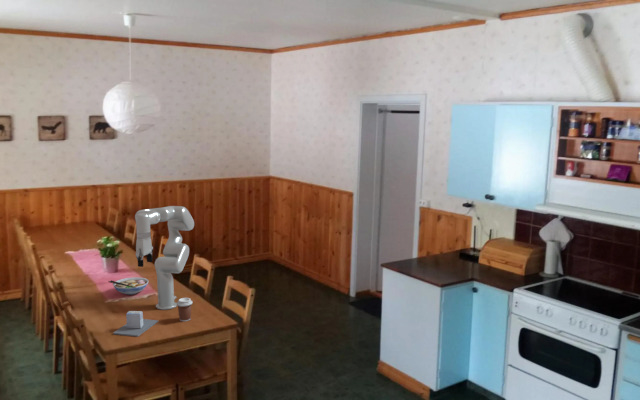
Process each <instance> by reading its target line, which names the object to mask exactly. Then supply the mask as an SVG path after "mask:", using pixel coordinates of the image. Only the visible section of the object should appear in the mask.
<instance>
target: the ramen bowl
mask: <svg viewBox="0 0 640 400" xmlns="http://www.w3.org/2000/svg"><path fill="white" fill-rule="evenodd" d="M108 283H110V284H112V285H113V288H114V289H115V290H116V292H119V293H121V294H124V295H127V296H128V295H129V296H130V295H132V296H133V295H136V294H138V293H140V292H142V291H143V290H144V289H145V288H146V287H147V286H148V284H149V279H147V278H145V277H134V276H133V277H125V278H120V279H118V280H110V281H109V280H108Z"/></svg>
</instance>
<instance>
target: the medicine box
mask: <svg viewBox="0 0 640 400" xmlns="http://www.w3.org/2000/svg"><path fill="white" fill-rule="evenodd" d="M125 316H126V317H125V318H126V324H127V328H142V326H143V319H144V314H143V311H141V310H138V311H137V310H128V311H127V313H126V315H125Z"/></svg>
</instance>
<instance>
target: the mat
mask: <svg viewBox="0 0 640 400" xmlns="http://www.w3.org/2000/svg"><path fill="white" fill-rule="evenodd" d="M158 322H159V320H158V319H157V320H156V319H149V318H148V319H147V318H143V326H142V328H127V323H126V324H124V325H122V326H121V327H119V328H118V329H116V330H115V331H113V333H112V335H117V336H127V337H140V336H141V335H142V334H144V333H145V332H146V331H148V330H149V329H150V328H151V327H154V326H155V325H156V324H157V323H158Z"/></svg>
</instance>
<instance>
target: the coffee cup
mask: <svg viewBox="0 0 640 400" xmlns="http://www.w3.org/2000/svg"><path fill="white" fill-rule="evenodd" d="M176 303H177V310H178V311H177V312H178V316H179V317H178V318H179V321H180V322H188V321H191V320H192V305H193V300H191V298H189V297H182V298H179V299H177V302H176Z"/></svg>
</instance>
